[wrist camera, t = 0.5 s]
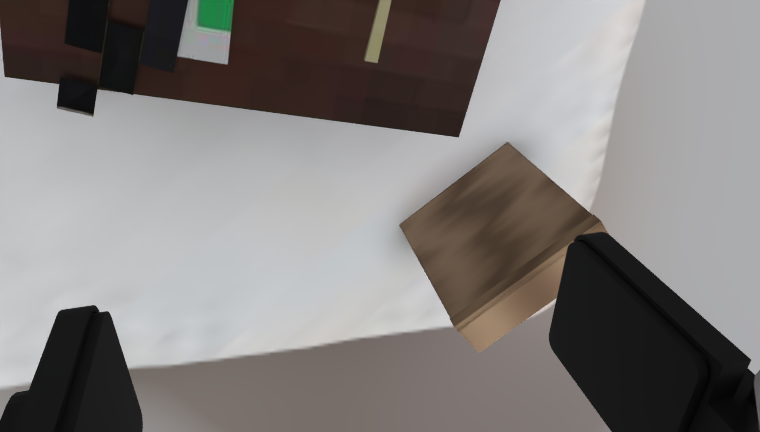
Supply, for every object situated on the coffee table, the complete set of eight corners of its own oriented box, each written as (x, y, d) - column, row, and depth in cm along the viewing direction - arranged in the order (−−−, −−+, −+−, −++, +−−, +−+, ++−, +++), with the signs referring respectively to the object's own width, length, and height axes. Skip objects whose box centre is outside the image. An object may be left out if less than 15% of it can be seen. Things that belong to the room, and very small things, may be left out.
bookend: (506, 139, 44) (600, 220, 33) (523, 167, 46) (619, 253, 35) (397, 222, 45) (454, 327, 35) (418, 246, 47) (478, 352, 36)
